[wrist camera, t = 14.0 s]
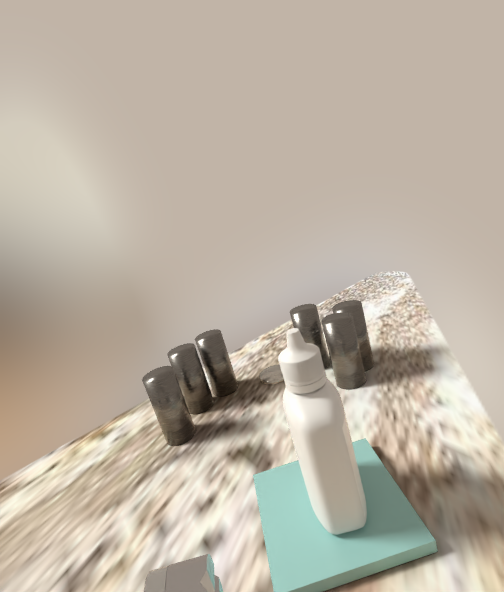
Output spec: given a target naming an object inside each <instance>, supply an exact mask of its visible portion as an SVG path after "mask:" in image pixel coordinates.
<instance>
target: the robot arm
mask: <svg viewBox="0 0 504 592" xmlns="http://www.w3.org/2000/svg"><path fill="white" fill-rule="evenodd" d="M144 592H223V589H222V585H221V582H220V579H219V577H217V576H215V575H214V563H213V561H212V558H211V556H210V554H207V555H203V556H200V557H196V558H193V559H189V560H186V561H182V562H179V563H175V564H172V565H169V566H166V567H162V568H159V569H156V570H152V571H149V573H148V575H147V578H146V581H145V588H144Z"/></svg>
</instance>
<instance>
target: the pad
mask: <svg viewBox="0 0 504 592" xmlns="http://www.w3.org/2000/svg"><path fill="white" fill-rule="evenodd" d="M352 445H353V449H354V453H355V457H356V461H357V465H358V469H359V474H360V478H361V482H362V486H363V490H364V494H365V499H366V507H367V518H366V523H365V525H364V527H362V528H360V529H357V530H354V531H350V532H346V533H342V534H338V535H333V534H331V533H329V532H328V531H327V530H326V529H325V528H324V527H323V525H322V524H321V523H320V521H319V520H318V518H317V516H316V515H315V513H314V510H313V508H312V505H311V502H310V499H309V495H308V492H307V488H306V485H305V482H304V478H303V475H302V471H301V468H300V464H299V461H295V462H292V463H288V464H285V465H282V466H279V467H276V468H273V469H270V470H267V471H264V472H261V473H258V474H255V475H253V477H254V483H255V488H256V494H257V499H258V505H259V511H260V516H261V522H262V528H263V533H264V539H265V544H266V550H267V556H268V561H269V567H270V573H271V578H272V584H273V589H274V592H323V591H326V590H329V589H332V588H335V587H338V586H341V585H343V584H346V583H349V582H352V581H355V580H358V579H361V578H364V577H366V576H369V575H372V574H375V573H378V572H381V571H384V570H386V569H389V568H392V567H395V566H398V565H401V564H404V563H407V562H409V561H412V560H415V559H418V558H421V557H424V556H427V555H430V554H432V553H435V552H438V551H437V545H436V540H435V539H434V537H433V536H432V534H431V533H430V532H429V530H428V529H427V527H426V526H425V524H424V523H423V521H422V520H421V518H420V517H419V516H418V514H417V513H416V511H415V510H414V508H413V507H412V505H411V504H410V502H409V501H408V500H407V498H406V497H405V495H404V494H403V492H402V491H401V489H400V488H399V486H398V485H397V484H396V482H395V481H394V479H393V478H392V476H391V475H390V473H389V472H388V470H387V469H386V468H385V466H384V465H383V463H382V462H381V460H380V459H379V457H378V456H377V454H376V453H375V452H374V450H373V449H372V447H371V446H370V444H369V443H368V441H367V440H366V438H365V439H362V440H358V441H355V442H352Z"/></svg>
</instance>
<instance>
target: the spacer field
mask: <svg viewBox="0 0 504 592" xmlns="http://www.w3.org/2000/svg"><path fill="white" fill-rule="evenodd" d="M332 309H333V314H331V315H328V316H326V317H325V318H323V319H322V325H323V330H324V334H325V338H326V342H327V346H328V350H329V355H330V359H331V363H332V367H333V371H334V375H335V379H336V384H337V386H338V387H340V388H343V389H355V388H358V387H360V386H362V385H363V384H364V383H365V382H366V376H365V371H366V370H369V369H371V368H372V367H373V365H374V361H373V356H372V351H371V346H370V342H369V337H368V332H367V327H366V322H365V317H364V313H363V308H362V303H361V302H360V301H356V300H350V301H344V302H341V303H338V304H336V305H335V306H333V308H332ZM290 314H291V319H292V322H293V326H294V328H298V329H299V331H300V333H301V335H302V337H303V339H304V341H305V342H306V343H311V344H314V345H316V346H318V348H319V349H320V353H321V357H322V361H323V365H324V369H325V368H326V367H328V366H329V364H330V361H329V357H328V352H327V348H326V344H325V340H324V336H323V332H322V328H321V323H320V319H319V315H318V311H317V307H316V305H314V304H305V305H301V306H298V307H295V308H293V309H292V310H291V311H290ZM195 341H196V344H197V347H198V350H199V352H200V355H201V358H202V361H203V364H204V367H205V370H206V373H207V376H208V379H209V382H210V384H211V387H212V390H213V393H214V395H215V396H226V395H229V394H231V393H233V392H234V391H235V390H236V389H237V388H238V383H237V380H236V377H235V374H234V371H233V368H232V365H231V362H230V359H229V355H228V352H227V350H226V346H225V343H224V340H223V337H222V334H221V331H220V330H210V331H207V332H204V333H202V334H200V335H198V336H197V337H196V338H195ZM168 358H169V360H170V363H171V366H172V367H171V366H164V367H160V368H157V369H154V370H152V371H150V372H149V373H147V374H146V375H145V376H144V377H143V380H142V381H143V383H144V386H145V388H146V391H147V393H148V396H149V399H150V401H151V404H152V406H153V409H154V411H155V414H156V416H157V419H158V421H159V424H160V426H161V429H162V431H163V434H164V436H165V439H166V441H167V443H168V444H169V445H171V446H177V445H181V444H183V443H185V442H187V441H189V440H190V439H191V438H192V437H193V436H194V434H195V432H196V429H195V426H194V424H193V421H192V418H191V415H190V413H191V414H199V413H202V412H205V411H206V410H208V409H209V408H211V407H212V405H213V404H214V400H213V397H212V394H211V391H210V388H209V386H208V383H207V380H206V377H205V374H204V371H203V368H202V365H201V363H200V359H199V357H198V354H197V351H196V348H195V345H194V344H184V345H180V346H178V347H176V348H174V349H172V350H171V351H169V353H168Z"/></svg>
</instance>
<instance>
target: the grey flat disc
mask: <svg viewBox="0 0 504 592" xmlns="http://www.w3.org/2000/svg"><path fill="white" fill-rule="evenodd" d="M260 380H261V382H262V383H264V384H269V385H270V384H277V383H280V382H282V381H284V378H283V374H282V371H281V367H280V365H273V366H270V367H268V368H266V369H264V370H263V371H262V372H261V373H260Z"/></svg>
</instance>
